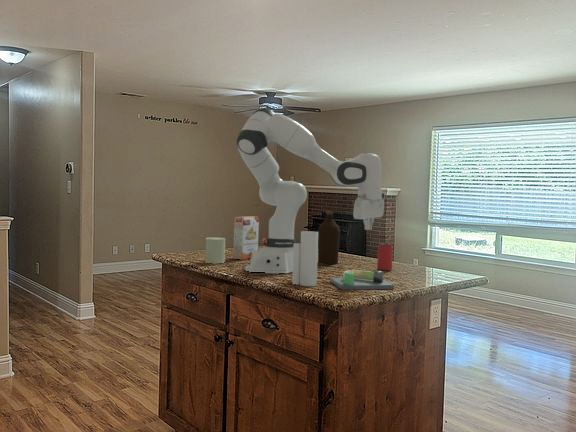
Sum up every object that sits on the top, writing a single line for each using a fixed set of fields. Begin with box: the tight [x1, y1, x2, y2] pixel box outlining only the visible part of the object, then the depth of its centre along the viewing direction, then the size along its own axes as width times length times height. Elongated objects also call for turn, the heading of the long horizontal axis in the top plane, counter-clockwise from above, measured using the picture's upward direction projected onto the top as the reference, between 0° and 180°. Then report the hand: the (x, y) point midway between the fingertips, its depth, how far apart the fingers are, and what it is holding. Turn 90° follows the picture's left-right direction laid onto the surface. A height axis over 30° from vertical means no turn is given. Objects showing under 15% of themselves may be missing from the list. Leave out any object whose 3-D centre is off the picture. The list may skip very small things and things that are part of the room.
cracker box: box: [232, 215, 260, 261], centre depth 268 cm, size 14×6×21 cm, turn 150°
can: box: [204, 236, 226, 264], centre depth 252 cm, size 9×9×12 cm
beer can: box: [376, 242, 394, 272], centre depth 245 cm, size 7×7×12 cm
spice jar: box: [351, 268, 384, 282], centre depth 208 cm, size 13×4×4 cm, turn 56°
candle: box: [291, 230, 318, 287], centre depth 205 cm, size 11×7×20 cm, turn 50°
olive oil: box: [317, 210, 341, 266], centre depth 260 cm, size 11×11×25 cm
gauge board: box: [329, 269, 395, 291], centre depth 206 cm, size 20×16×6 cm
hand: (368, 229), depth 213 cm, fingers closed
